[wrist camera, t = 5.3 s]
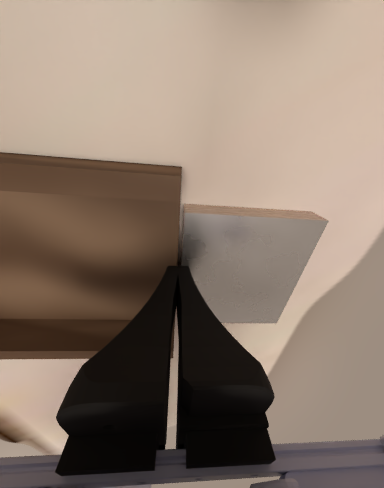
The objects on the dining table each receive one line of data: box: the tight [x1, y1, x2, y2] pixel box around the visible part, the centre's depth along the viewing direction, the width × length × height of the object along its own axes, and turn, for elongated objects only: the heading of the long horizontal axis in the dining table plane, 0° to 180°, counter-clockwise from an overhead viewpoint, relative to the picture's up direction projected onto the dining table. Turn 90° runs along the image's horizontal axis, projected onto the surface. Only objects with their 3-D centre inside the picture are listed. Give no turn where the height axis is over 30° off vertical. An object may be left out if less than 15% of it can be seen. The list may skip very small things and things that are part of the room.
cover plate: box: [181, 204, 328, 323], centre depth 12 cm, size 9×8×2 cm
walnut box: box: [0, 152, 182, 359], centre depth 10 cm, size 13×17×3 cm
